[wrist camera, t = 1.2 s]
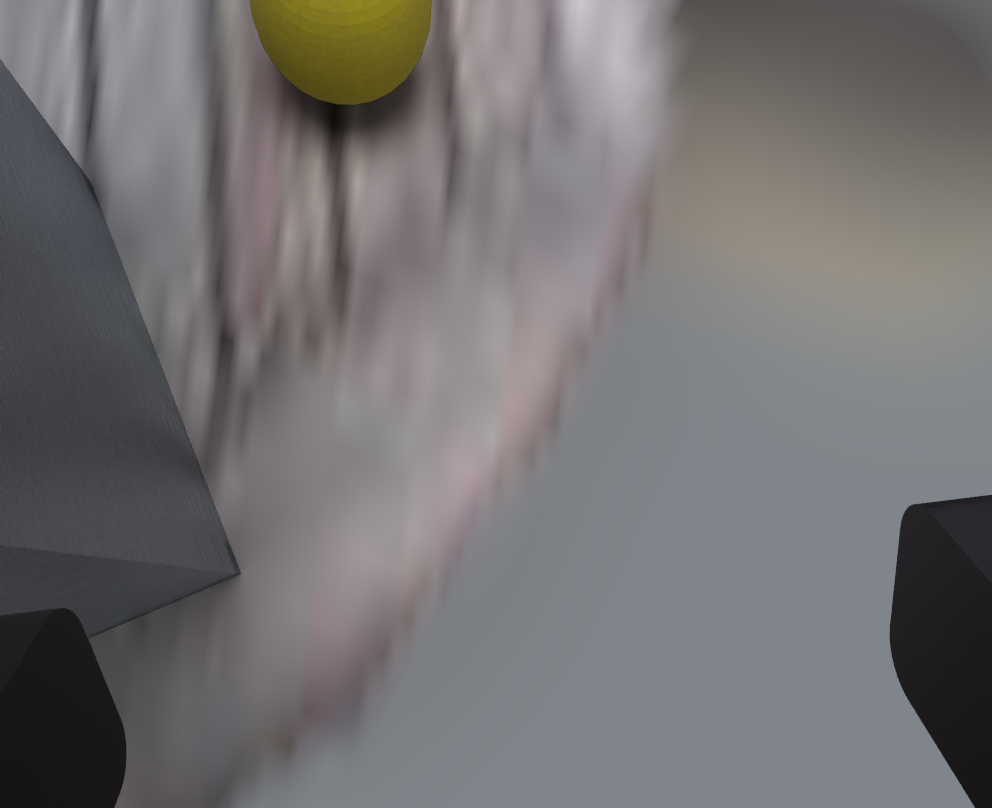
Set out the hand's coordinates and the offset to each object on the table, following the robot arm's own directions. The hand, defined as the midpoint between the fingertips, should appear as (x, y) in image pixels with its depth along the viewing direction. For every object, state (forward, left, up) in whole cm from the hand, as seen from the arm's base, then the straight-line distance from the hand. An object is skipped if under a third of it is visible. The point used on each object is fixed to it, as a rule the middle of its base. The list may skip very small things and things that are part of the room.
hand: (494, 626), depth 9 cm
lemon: (-13, +13, -20) cm, 28 cm away
